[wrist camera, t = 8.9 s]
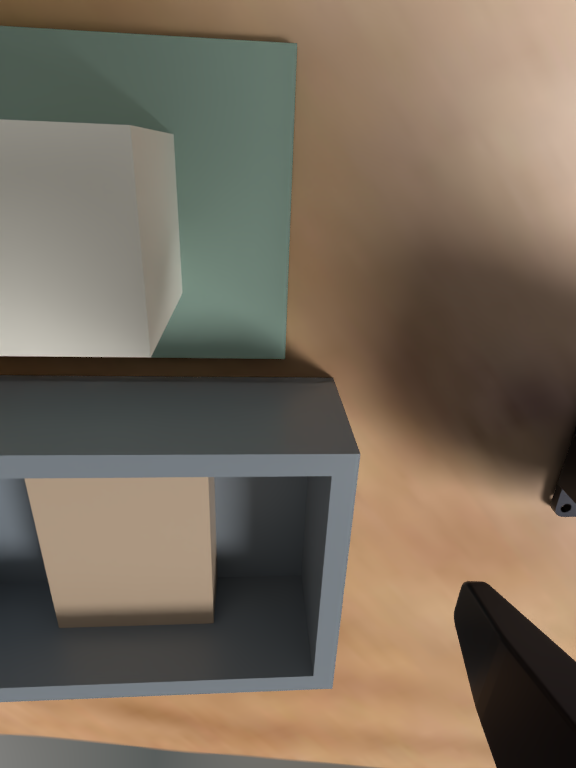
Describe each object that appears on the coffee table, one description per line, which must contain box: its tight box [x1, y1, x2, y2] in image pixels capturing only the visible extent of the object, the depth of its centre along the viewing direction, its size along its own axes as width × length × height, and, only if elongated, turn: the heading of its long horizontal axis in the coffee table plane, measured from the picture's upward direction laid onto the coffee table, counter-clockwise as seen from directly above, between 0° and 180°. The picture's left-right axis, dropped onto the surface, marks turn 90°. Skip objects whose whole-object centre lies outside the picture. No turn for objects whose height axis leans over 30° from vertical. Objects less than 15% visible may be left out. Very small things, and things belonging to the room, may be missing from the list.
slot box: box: [0, 375, 360, 702], centre depth 19 cm, size 16×11×6 cm
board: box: [0, 26, 297, 359], centre depth 16 cm, size 12×10×1 cm
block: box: [0, 119, 182, 357], centre depth 13 cm, size 4×5×6 cm
